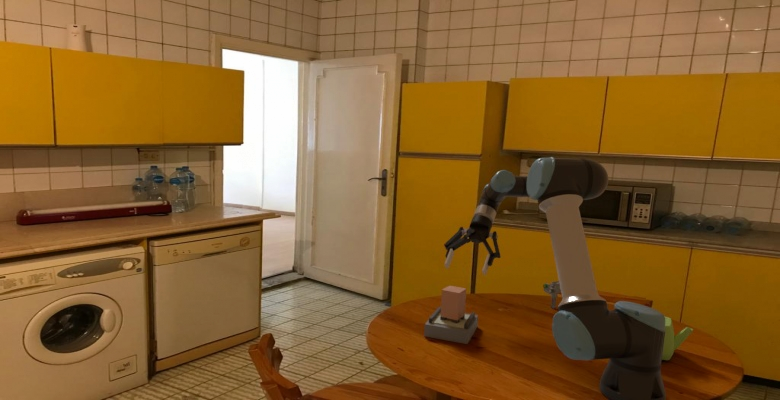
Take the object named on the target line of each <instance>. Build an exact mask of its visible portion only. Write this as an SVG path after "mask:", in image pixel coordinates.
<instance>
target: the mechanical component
mask: <svg viewBox="0 0 780 400" xmlns="http://www.w3.org/2000/svg"><path fill="white" fill-rule="evenodd" d="M542 286H543V292H544V293H547V294H549V295H550V297H551V306H550V308H552V309H556V304H557V298H558V297H559V296H558V294H562V293H561V288H560V283H559V280H558V281H557V280H556V281H551V283H550V284H549V283H547V282H546V283H544V284H543V285H542Z"/></svg>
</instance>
